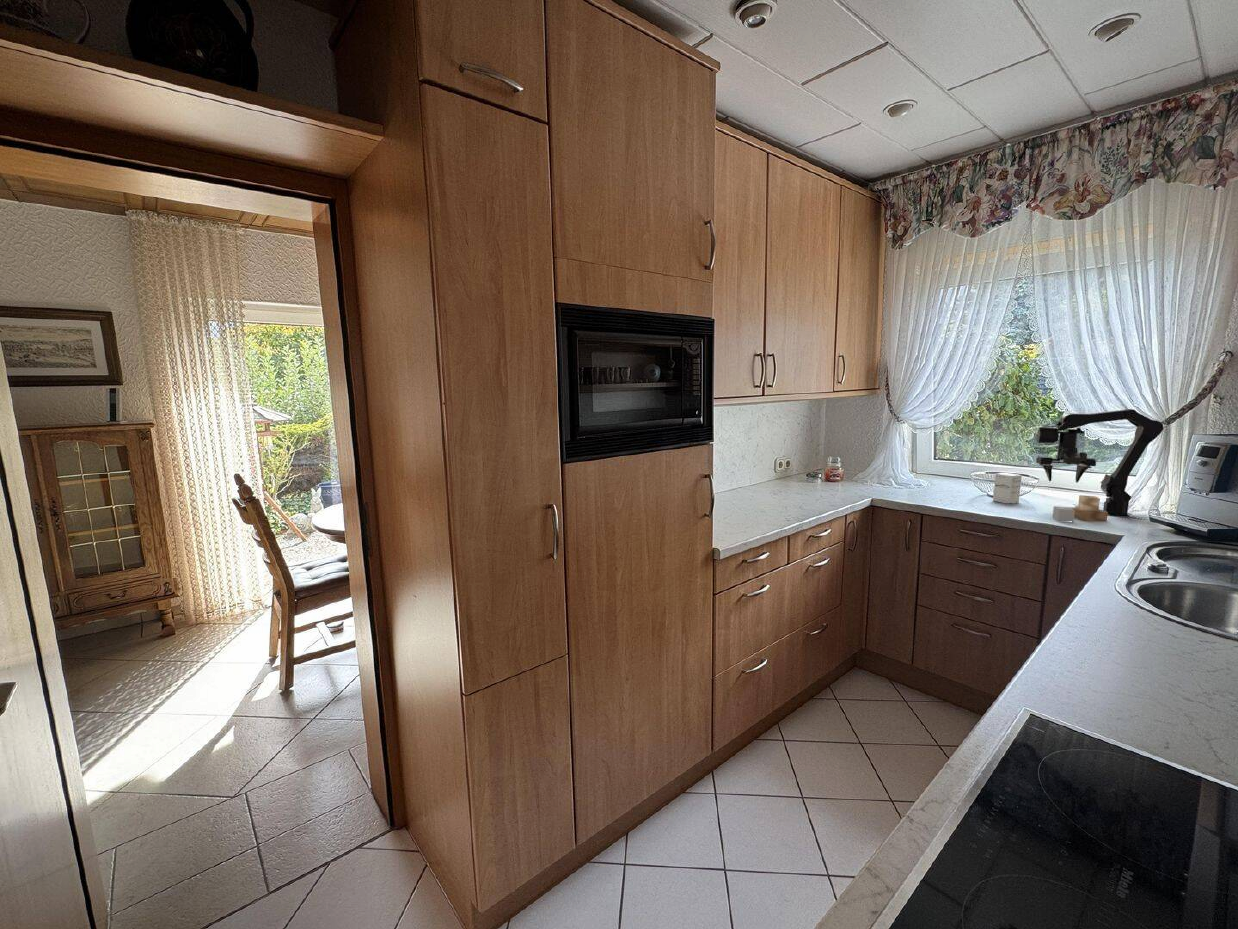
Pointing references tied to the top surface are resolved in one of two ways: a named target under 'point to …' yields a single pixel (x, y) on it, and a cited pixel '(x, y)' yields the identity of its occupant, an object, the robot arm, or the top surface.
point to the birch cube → (1088, 503)
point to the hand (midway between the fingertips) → (1063, 481)
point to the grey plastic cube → (1063, 513)
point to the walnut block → (1090, 515)
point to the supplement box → (1007, 488)
